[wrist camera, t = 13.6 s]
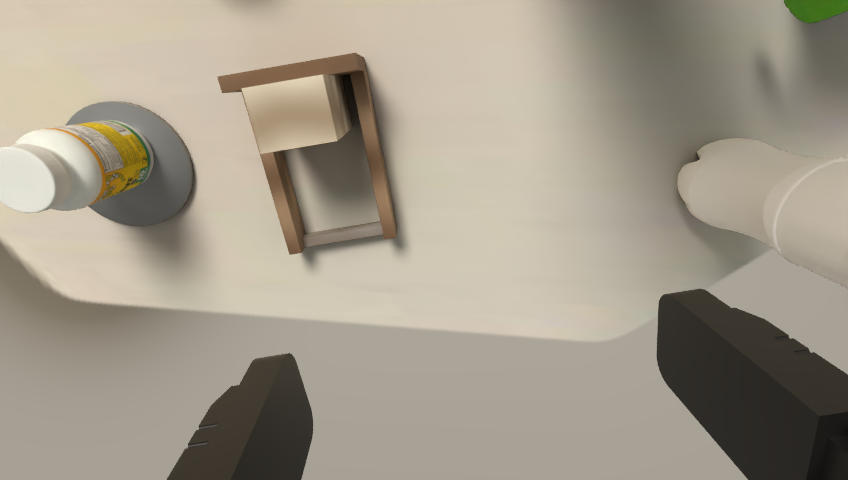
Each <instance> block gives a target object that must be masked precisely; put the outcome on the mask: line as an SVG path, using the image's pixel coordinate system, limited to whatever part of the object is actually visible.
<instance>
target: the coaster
mask: <svg viewBox="0 0 848 480" xmlns="http://www.w3.org/2000/svg"><path fill="white" fill-rule="evenodd" d="M104 120H114V121H120V122H123V123H126V124H128V125H130V126H132V127H133V128H135V129H136V130H138V131H139V132H140V133H141V134H142V135H143V136H144V137H145V139H146V140H147V141H148V143H149V145H150V147H151V149H152V152H153V158H154V164H153V168H152V171H151V173H150V175H149V177H148V178H147V180H146V181H145V182H143V183H142V184H140V185H138V186H136V187H134V188H131V189H129V190H126V191H124V192H121V193H119V194H116V195H114V196H111V197H109V198H106V199H104V200H101V201H98V202H96V203H93V204H91V205H89V207H90V208H91V209H93V210H94V211H95V212H97V213H99V214H100V215H102V216H104V217H106V218H108V219H110V220H113V221H115V222H118V223H122V224H126V225H134V226H144V225H151V224H156V223H159V222H161V221H164V220H166V219H167V218H169V217H171V216H173V215H174V214H175V213H177V212H178V211H179V210H180V209H181V208H182V207H183V206H184V204H185V203H186V201H187V200H188V198H189V196H190V193H191V190H192V186H193V166H192V161H191V158H190V155H189V152H188V150H187V147H186V146H185V144H184V142H183V140H182V139H181V138H180V136H179V135H178V133H177V132H176V131H175V130H174V129H173V128H172V127H171V126H170V125H169V124H168V123H167V122H166V121H165V120H164V119H162V118H161V117H160V116H158V115H157V114H155V113H153V112H152V111H150V110H148V109H146V108H143V107H141V106H138V105H135V104H131V103H126V102H114V101H113V102H101V103H96V104H92V105H90V106H87V107H85V108H83V109H81V110H80V111H78V112H77V113H76V114H75V115H74V116H72V117H71V119H70V120H69V121H68V122H67V124H66V126H68V125H76V124H82V123H89V122H95V121H104Z"/></svg>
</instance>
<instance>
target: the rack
mask: <svg viewBox="0 0 848 480" xmlns="http://www.w3.org/2000/svg"><path fill="white" fill-rule="evenodd" d="M348 74H350V76H351V80H352V85H353V90H354V95H355V100H356V105H357V110H358V114H359V119H360V124H361V129H362V134H363V139H364V143H365V148H366V153H367V158H368V163H369V168H370V173H371V177H372V182H373V187H374V192H375V197H376V202H377V206H378V211H379V216H380V222H374V223H368V224H362V225H356V226H350V227H343V228H337V229H331V230H325V231H319V232H313V233H307V234H305V230H304V226H303V223H302V219H301V215H300V212H299V208H298V204H297V201H296V197H295V193H294V190H293V186H292V183H291V179H290V175H289V172H288V168H287V164H286V161H285V157H284V153H283V150H287V149H293V148H299V147H305V146H311V145H317V144H323V143H329V142H335V141H338V140H339V139H340V138H342V137H343V136H344V135H345V134H346V133H347V132H348V131H349V130H351V129H352V124H351V119H350V114H349V110H348V105H347V100H346V95H345V91H344V86H343V81H342V77H341V76H342V75H348ZM218 81H219V84H220V87H221V90H222V93H230V92H242V94H243V98H244V101H245V105H246V108H247V111H248V115H249V118H250V122H251V125H252V128H253V132H254V135H255V139H256V142H257V145H258V149H259V152H260V156H261V159H262V162H263V166H264V169H265V173H266V176H267V179H268V183H269V186H270V190H271V193H272V196H273V200H274V203H275V207H276V210H277V213H278V217H279V220H280V224H281V227H282V230H283V234H284V237H285V241H286V244H287V247H288V251H289V254H290V255H291V254H297V253H302V251H303V249H304V248H305V247H308V246H314V245H320V244H326V243H333V242H339V241H345V240H351V239H357V238H363V237H369V236H375V235H381V234H383V236H384V239H388V238H394V237H396V231H397V226H396V221H395V216H394V211H393V205H392V200H391V195H390V190H389V185H388V180H387V174H386V169H385V164H384V159H383V154H382V149H381V143H380V138H379V133H378V128H377V123H376V118H375V112H374V107H373V102H372V97H371V92H370V86H369V81H368V76H367V71H366V66H365V61H364V57H362V56H360V55H358V54H356V53H352V54H346V55H340V56H335V57H329V58H323V59H317V60H311V61H306V62H300V63H294V64H288V65H283V66H277V67H271V68H265V69H259V70H254V71H248V72H242V73H236V74H231V75H225V76H219V77H218Z"/></svg>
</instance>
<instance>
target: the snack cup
mask: <svg viewBox="0 0 848 480" xmlns="http://www.w3.org/2000/svg"><path fill="white" fill-rule="evenodd" d="M784 3H785V5H786V6H787V7H788V8H789V10H790V12H791V13H792V14H793V15H794V16H795V17H796V18H798V19H799V20H801V21H803V22H806V23H816V22H819V21H821V20H824V19H827V18H830V17H832V16H835V15H838V14H840V13H843V12H846V11H848V0H784Z"/></svg>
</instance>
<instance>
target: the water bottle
mask: <svg viewBox="0 0 848 480" xmlns="http://www.w3.org/2000/svg"><path fill="white" fill-rule="evenodd" d="M696 152H697V153H698V156H699V158H700V159H699V160H698V161H696V162H691V163H688V164H686V165H684V166H683V167H682V169H681V170H680V172H679V174H678V178H677V187H678V191H679V193H680V196H681V197H682V199H683V200H684V202H685V203H686V207H687V208H688V210H689V212H690V213H691V214H692V215H693V216H695V217H696V218H698V219H699V220H701V221H703V222H704V223H707V224H709V225H711V226H714V227H717V228H720V229H726V230H731V231H735V232H739V233H742V234H745V235H748V236H750V237H753V238H755V239H758V240H760V241H762V242H763V243H765V244H767V245H768V246H770V247H772V248H773V249H775V250H776V251H777V252H778V253H779V254H780V255H781V256H782V257H784V258H785V259H786V260H788V261H790V262H791V263H793V264H796V265H799V266H802V267H804V268H806V269H808V270H810V271H812V272H814V273H817V274H819V275H821V276H823V277H825V278H827V279H829V280H832V281H834V282H836V283H838V284H840V285H842V286H844V287H846V288H848V158H820V157H809V156H803V155H798V154H793V153H790V152H786V151H783V150H780V149H777V148H775V147H772V146H770V145H768V144H766V143H764V142H762V141H758V140H753V139H746V138H731V139H722V140H719V141H715V142H712V143H709V144H707V145H705V146H703V147H701V148H700V149H699V150H698V151H696Z"/></svg>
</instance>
